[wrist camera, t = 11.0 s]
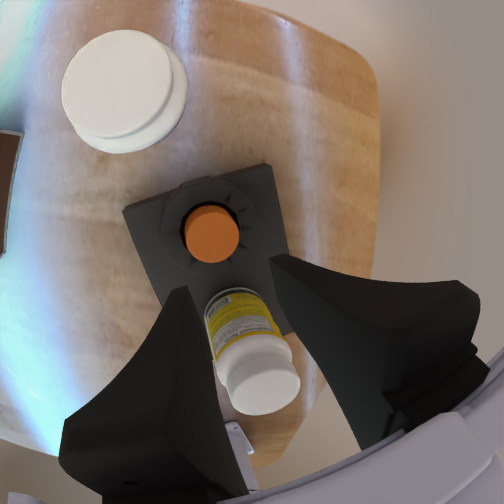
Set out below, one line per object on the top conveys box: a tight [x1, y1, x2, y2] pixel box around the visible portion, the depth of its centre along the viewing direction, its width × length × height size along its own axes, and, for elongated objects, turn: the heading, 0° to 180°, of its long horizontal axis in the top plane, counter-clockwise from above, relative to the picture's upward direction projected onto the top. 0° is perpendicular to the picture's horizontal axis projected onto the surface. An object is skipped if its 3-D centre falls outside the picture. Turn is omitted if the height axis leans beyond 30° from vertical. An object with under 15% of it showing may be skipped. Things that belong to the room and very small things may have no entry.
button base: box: [122, 163, 294, 360], centre depth 21 cm, size 14×10×3 cm
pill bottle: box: [61, 30, 188, 153], centre depth 12 cm, size 5×5×10 cm
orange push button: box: [185, 205, 239, 263], centre depth 17 cm, size 3×3×2 cm
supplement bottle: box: [204, 287, 300, 415], centre depth 18 cm, size 5×5×8 cm
